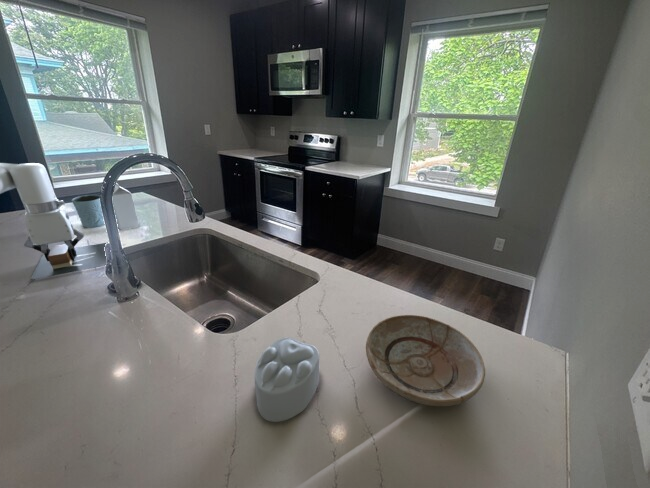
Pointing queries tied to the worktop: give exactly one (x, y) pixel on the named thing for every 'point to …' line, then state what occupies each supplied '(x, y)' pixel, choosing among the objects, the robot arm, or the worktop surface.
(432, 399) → the ceramic bowl
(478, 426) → the worktop surface
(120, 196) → the milk carton
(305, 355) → the lumpy-topped squat cylinder
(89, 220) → the blue-grey cup
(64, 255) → the eraser
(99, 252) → the chalkboard
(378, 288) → the worktop surface
